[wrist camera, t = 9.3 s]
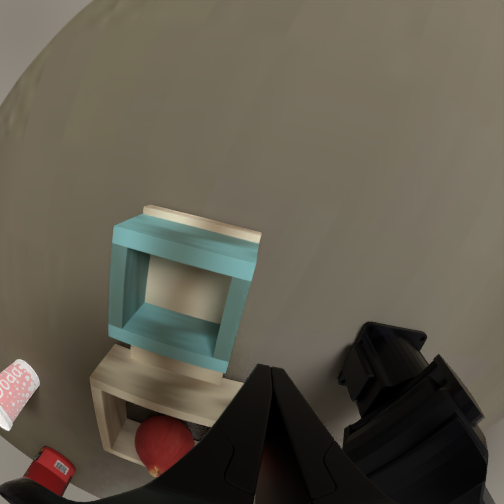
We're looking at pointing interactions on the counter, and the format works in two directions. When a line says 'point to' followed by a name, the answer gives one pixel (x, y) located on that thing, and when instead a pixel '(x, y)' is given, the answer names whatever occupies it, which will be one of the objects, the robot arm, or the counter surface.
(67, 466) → the canned food
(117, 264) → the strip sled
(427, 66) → the counter surface
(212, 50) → the counter surface
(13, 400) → the beverage cup
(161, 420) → the onion
